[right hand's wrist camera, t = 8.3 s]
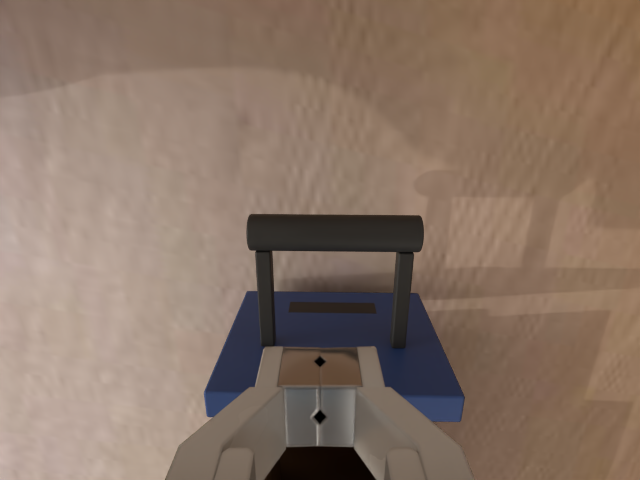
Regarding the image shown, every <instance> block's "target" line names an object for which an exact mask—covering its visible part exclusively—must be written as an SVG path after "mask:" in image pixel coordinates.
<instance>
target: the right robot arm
mask: <svg viewBox="0 0 640 480" xmlns="http://www.w3.org/2000/svg"><path fill="white" fill-rule="evenodd" d="M307 446H332V447H354V449H355V451H356V452H357V454H358V455H359V456H360V458H361V459H362V461H363V462H364V463H365V465H366V466H367V468H368V469H369V470H370V472H371V473H372V475H373V476H374V477H375V479H376V480H475V478H474V476H473V474H472V471H471V469H470V466H469V464H468V461H467V459H466V456H465V454H464V451H463V449H462V446H460V445H459V444H458V443H457V442H456V441H454V440H453V439H452V438H451V437H450V436H448V435H447V434H446V433H445V432H444V431H443V430H441V429H440V428H439V427H438V426H437V425H435V424H434V423H433V422H432V421H431V420H429V419H428V418H427V417H426V416H425V415H423V414H422V413H421V412H420V411H419V410H417V409H416V408H415V407H414V406H413V405H411V404H410V403H409V402H408V401H407V400H406V399H404V398H403V397H402V396H401V395H400V394H398V393H397V392H396V391H395V390H394V389H392V388H391V387H385V384H384V380H383V375H382V371H381V367H380V362H379V358H378V354H377V349H376V347H375V346H365V347H336V348H320V347H285V346H284V347H282V346H265V348H264V349H263V353H262V358H261V362H260V366H259V371H258V375H257V380H256V384H255V387H249V388H248V389H246V390H245V391H244V392H243V393H242V394H240V395H239V396H238V397H237V398H236V399H234V400H233V401H232V402H231V403H230V404H228V405H227V406H226V407H225V408H224V409H222V410H221V411H220V412H219V413H218V414H216V415H215V416H214V417H213V418H212V419H210V420H209V421H208V422H207V423H206V424H204V425H203V426H202V427H201V428H200V429H198V430H197V431H196V432H195V433H194V434H192V435H191V436H190V437H189V438H188V439H186V440H185V441H184V442H183V443H182V444H180V445H179V447H178V449H177V452H176V454H175V457H174V459H173V461H172V464H171V466H170V469H169V471H168V474H167V476H166V478H165V480H264V479H265V478H266V476H267V475H268V473H269V472H270V471H271V469H272V468H273V467H274V465H275V464H276V462H277V461H278V460H279V458H280V457H281V455H282V454H283V453H284V451H285V450H286V447H307Z"/></svg>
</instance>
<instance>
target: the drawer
mask: <svg viewBox="0 0 640 480" xmlns="http://www.w3.org/2000/svg"><path fill="white" fill-rule="evenodd" d="M423 239H424V227H423V221H422V218H421V216H419V215H297V214H251V215H249V217H248V221H247V244H248V248H249V250H256V252H255V257H256V274H257V290H258V291H247V293H246V295H245V297H244V300H243V302H242V304H241V307H240V309H239V311H238V314H237V316H236V318H235V321H234V323H233V325H232V328H231V330H230V332H229V335H228V337H227V340H226V342H225V344H224V347H223V349H222V351H221V354H220V356H219V358H218V361H217V363H216V365H215V368H214V370H213V372H212V375H211V377H210V379H209V382H208V384H207V386H206V389H205V391H204V397H205V405H206V413H207V417H214V416H215V415H216V414H218V413H219V412H220V411H221V410H222V409H224V408H225V407H226V406H227V405H228V404H230V403H231V402H232V401H233V400H234V399H236V398H237V397H238V396H239V395H240V394H242V393H243V392H244V391H245V390H246V389H248V388H249V387H255V384H256V380H257V375H258V371H259V366H260V362H261V358H262V353H263V349H264V348H265V346H282V347H284V346H285V347H320V348H336V347H365V346H375V347H376V349H377V354H378V358H379V362H380V367H381V371H382V375H383V380H384V384H385V387H391V388H392V389H394V390H395V391H396V392H397V393H398V394H400V395H401V396H402V397H403V398H404V399H406V400H407V401H408V402H409V403H410V404H411V405H413V406H414V407H415V408H416V409H417V410H419V411H420V412H421V413H422V414H423V415H425V416H426V417H427V418H428V419H429V420H431V421H436V422H460V421H461V418H462V411H463V405H464V399H465V397H464V394H463V392H462V390H461V388H460V385H459V383H458V381H457V379H456V377H455V374H454V372H453V370H452V368H451V366H450V363H449V361H448V359H447V357H446V354H445V352H444V350H443V348H442V346H441V343H440V341H439V339H438V337H437V334H436V332H435V330H434V328H433V326H432V323H431V321H430V319H429V317H428V315H427V312H426V310H425V308H424V306H423V303H422V301H421V299H420V297H419V295H418V294H417V293H410V292H411V281H412V270H413V259H414V254H413V252H420V251H421V249H422V246H423ZM272 251H355V252H396V265H395V278H394V291H393V293H352V292H274V279H273V257H272ZM264 480H376V479H375V477H374V476H373V475H372V473H371V472H370V470H369V469H368V468H367V466H366V465H365V463H364V462H363V461H362V459H361V458H360V456H359V455H358V454H357V452H356V451H355V449H354V447H332V446H307V447H286V450H285V451H284V453H283V454H282V455H281V457H280V458H279V460H278V461H277V462H276V464H275V465H274V467H273V468H272V469H271V471H270V472H269V473H268V475H267V476H266V478H265V479H264Z"/></svg>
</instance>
